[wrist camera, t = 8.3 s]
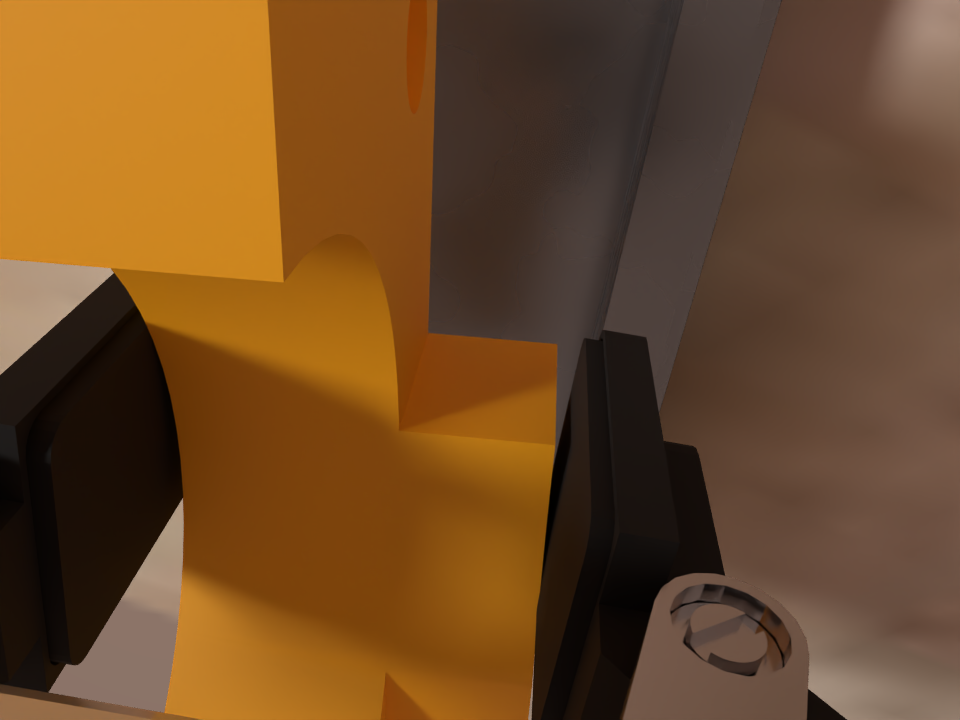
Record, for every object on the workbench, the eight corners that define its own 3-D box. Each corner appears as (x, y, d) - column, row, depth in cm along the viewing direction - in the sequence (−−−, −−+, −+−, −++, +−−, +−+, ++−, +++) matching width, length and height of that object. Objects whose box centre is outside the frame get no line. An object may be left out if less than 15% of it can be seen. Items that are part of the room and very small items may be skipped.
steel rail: (858, -313, 14) (911, -344, 12) (606, 560, 23) (609, 634, 21) (221, -422, 14) (155, -473, 12) (216, 491, 23) (178, 558, 21)
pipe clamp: (521, 681, 15) (494, 1157, 10) (269, 654, 16) (98, 1106, 10) (606, -121, 10) (664, -99, 4) (202, -146, 10) (-304, -161, 4)
